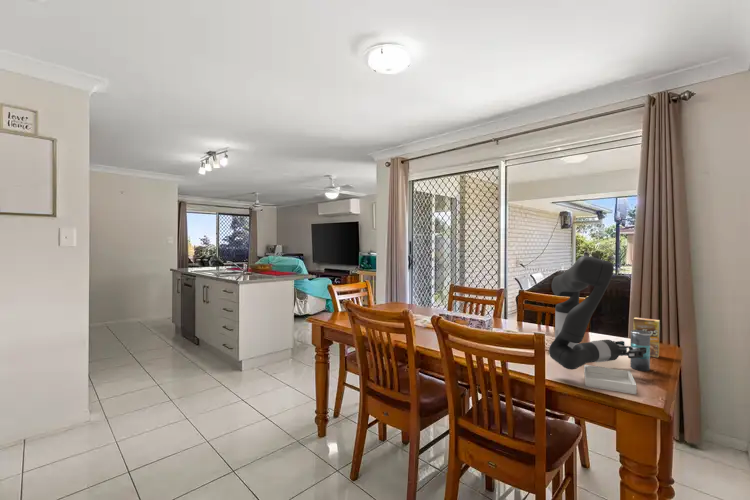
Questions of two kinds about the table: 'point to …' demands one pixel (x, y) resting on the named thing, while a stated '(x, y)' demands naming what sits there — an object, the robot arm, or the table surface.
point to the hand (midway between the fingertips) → (634, 346)
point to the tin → (638, 341)
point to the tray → (609, 379)
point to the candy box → (654, 330)
